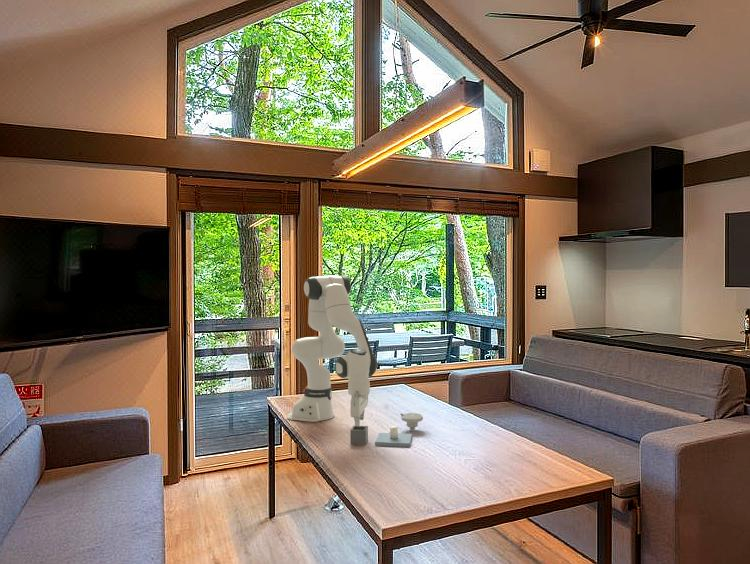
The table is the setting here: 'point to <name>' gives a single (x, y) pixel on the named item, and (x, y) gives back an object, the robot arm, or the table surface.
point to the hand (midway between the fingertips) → (359, 422)
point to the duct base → (394, 442)
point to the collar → (359, 435)
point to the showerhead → (412, 420)
